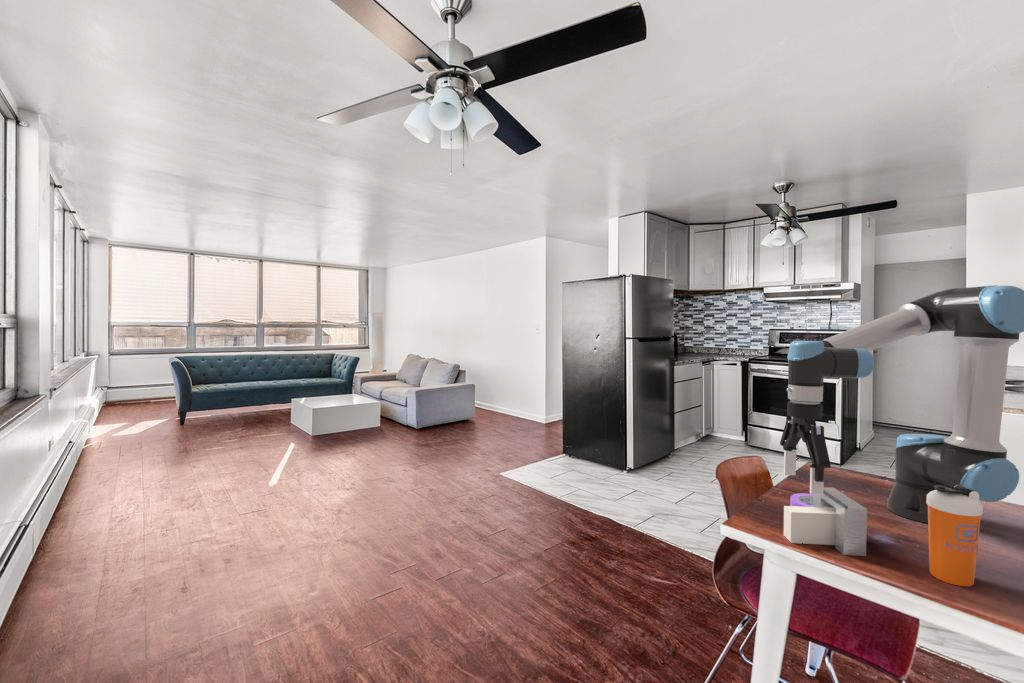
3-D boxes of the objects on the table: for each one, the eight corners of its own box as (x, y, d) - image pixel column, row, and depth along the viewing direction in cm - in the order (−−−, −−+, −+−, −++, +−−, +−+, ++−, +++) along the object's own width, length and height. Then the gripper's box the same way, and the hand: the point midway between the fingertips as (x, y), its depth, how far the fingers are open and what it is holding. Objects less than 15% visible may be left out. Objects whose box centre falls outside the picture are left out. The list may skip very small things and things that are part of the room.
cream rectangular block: (849, 538, 119) (849, 507, 119) (859, 546, 115) (859, 514, 115) (783, 535, 122) (783, 505, 121) (790, 543, 117) (791, 511, 117)
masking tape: (846, 516, 133) (846, 503, 133) (822, 525, 128) (822, 511, 127) (805, 502, 143) (805, 490, 143) (781, 510, 138) (781, 497, 138)
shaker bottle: (913, 567, 105) (915, 481, 104) (949, 565, 106) (951, 479, 105) (953, 590, 96) (956, 496, 95) (992, 588, 97) (996, 494, 96)
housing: (832, 529, 125) (833, 485, 124) (866, 556, 110) (867, 506, 110) (812, 528, 125) (813, 484, 125) (844, 555, 111) (845, 506, 110)
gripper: (767, 393, 130) (766, 467, 131) (814, 410, 105) (812, 502, 106) (796, 393, 129) (794, 468, 130) (850, 411, 104) (847, 503, 105)
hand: (802, 483), depth 118 cm, fingers open, 13 cm apart
